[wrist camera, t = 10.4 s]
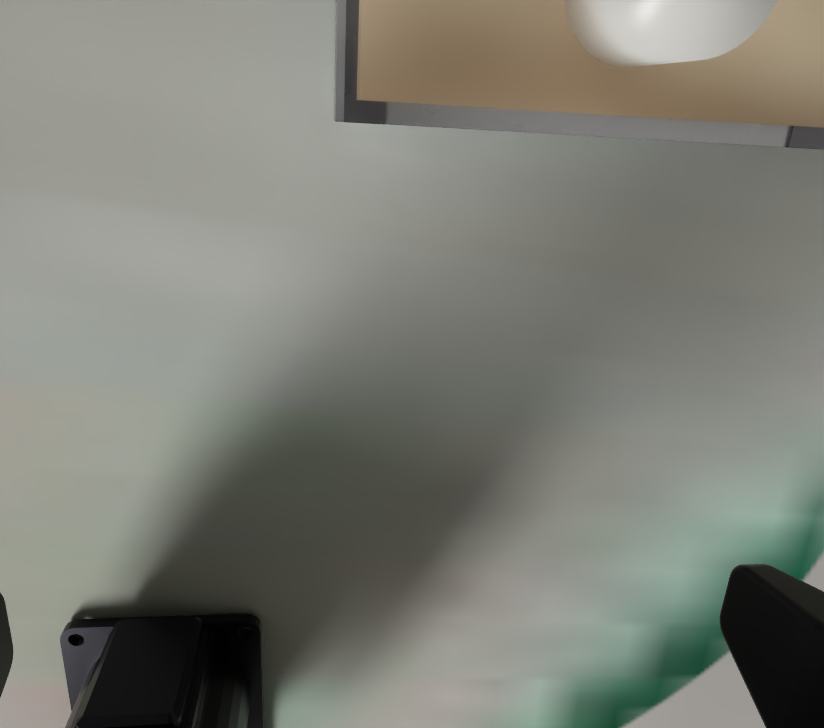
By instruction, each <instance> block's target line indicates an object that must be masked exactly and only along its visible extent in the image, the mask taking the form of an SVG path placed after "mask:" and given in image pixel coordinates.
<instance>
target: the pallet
mask: <svg viewBox="0 0 824 728" xmlns="http://www.w3.org/2000/svg"><path fill="white" fill-rule="evenodd" d="M357 100H367V101H384V102H401V103H418V104H435V105H451V106H468V107H485V108H502V109H519V110H536V111H552V112H569V113H586V114H603V115H620V116H637V117H653V118H670V119H687V120H704V121H721V122H738V123H754V124H771V125H788V126H805V127H822V128H824V0H777V2H776V4H775V6H774V8H773V10H772V11H771V13H770V14H769V16H768V17H767V19H766V20H765V21H764V23H763V24H762V25H761V26H760V27H759V28H758V30H757V31H756V32H755V33H754V34H753V35H751V36H750V37H749V38H748V39H747V40H746V41H744V42H743V43H742V44H740V45H739V46H738V47H736V48H734V49H733V50H731V51H729V52H727V53H725V54H722V55H720V56H718V57H714V58H710V59H706V60H698V61H688V62H678V63H668V64H657V65H647V66H637V67H618V66H613V65H610V64H607V63H604V62H602V61H600V60H598V59H596V58H595V57H593V56H592V55H591V54H589V53H588V52H587V51H586V50H585V49H584V48H583V47H582V45H581V44H580V43H579V41H578V40H577V39H576V37H575V35H574V33H573V32H572V30H571V27H570V25H569V22H568V19H567V15H566V11H565V4H564V0H359V31H358V71H357Z"/></svg>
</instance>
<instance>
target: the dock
mask: <svg viewBox="0 0 824 728" xmlns="http://www.w3.org/2000/svg"><path fill="white" fill-rule="evenodd" d="M358 31H359V0H336V49H335V112H334V119H335V121H337V122H353V123H370V124H390V125H407V126H425V127H442V128H460V129H477V130H495V131H512V132H530V133H547V134H565V135H582V136H600V137H617V138H635V139H652V140H670V141H687V142H705V143H722V144H740V145H757V146H775V147H790V148H808V149H824V128H822V127H805V126H788V125H771V124H754V123H738V122H721V121H704V120H687V119H670V118H653V117H637V116H620V115H603V114H586V113H569V112H552V111H536V110H519V109H502V108H485V107H468V106H451V105H435V104H418V103H401V102H384V101H367V100H357V71H358Z"/></svg>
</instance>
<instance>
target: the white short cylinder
mask: <svg viewBox="0 0 824 728" xmlns="http://www.w3.org/2000/svg"><path fill="white" fill-rule="evenodd" d="M776 2H777V0H564V4H565V11H566V15H567V19H568V22H569V25H570V27H571V30H572V32H573V33H574V35H575V37H576V39H577V40H578V41H579V43H580V44H581V45H582V47H583V48H584V49H585V50H586V51H587V52H588V53H589V54H591V55H592V56H593V57H595V58H596V59H598V60H600V61H602V62H604V63H607V64H610V65H613V66H618V67H637V66H647V65H657V64H668V63H678V62H688V61H698V60H706V59H710V58H714V57H718V56H720V55H722V54H725V53H727V52H729V51H731V50H733V49H734V48H736V47H738V46H739V45H740V44H742V43H743V42H744V41H746V40H747V39H748V38H749V37H750V36H751V35H753V34H754V33H755V32H756V31H757V30H758V28H759V27H760V26H761V25H762V24H763V23H764V21H765V20H766V19H767V17H768V16H769V14H770V13H771V11H772V10H773V8H774V6H775V4H776Z"/></svg>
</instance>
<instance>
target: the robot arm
mask: <svg viewBox="0 0 824 728" xmlns="http://www.w3.org/2000/svg"><path fill="white" fill-rule="evenodd" d="M245 627H246V628H250V629H251V630H249V631H245V630H242V629H241V628H245ZM720 627H721V631H722V634H723V637H724V639H725V641H726V643H727V645H728V648H729V650H730V652H731V654H732V656H733V658H734V660H735V662H736V665H737V667H738V669H739V671H740V673H741V675H742V677H743V680H744V682H745V684H746V686H747V688H748V690H749V692H750V695H751V697H752V699H753V701H754V703H755V705H756V707H757V709H758V712H759V714H760V716H761V718H762V720H763V722H764V724H765V726H766V728H824V592H823V591H821V590H819V589H817V588H815V587H813V586H811V585H809V584H807V583H805V582H803V581H801V580H799V579H797V578H795V577H793V576H791V575H789V574H787V573H784V572H782V571H780V570H778V569H776V568H774V567H772V566H770V565H766V564H746V565H738V566H736V567H735V568H734V569H733V570H732V572H731V574H730V578H729V582H728V586H727V589H726V593H725V597H724V601H723V605H722V609H721V613H720ZM74 634H79V635H81V636H83V637H77V636H75V635H74ZM60 642H61V648H62V655H63V661H64V667H65V673H66V679H67V685H68V692H69V698H70V704H71V710H72V712H71V715H70V717H69V720H68V722H67V725H66V727H65V728H264V697H263V660H262V624H261V621H260V619H259V618H258V617H257V616H255V615H253V614H218V615H190V616H162V617H134V618H106V619H78V620H73V621H71V622H69V623H68V624H67V625H66V627H65V628H64V630H63V632H62V634H61V638H60ZM12 659H13V644H12V638H11V633H10V627H9V621H8V616H7V610H6V605H5V600H4V598H3V596H2V594H1V593H0V697H1V694H2V691H3V688H4V686H5V683H6V680H7V677H8V674H9V672H10V668H11V664H12Z"/></svg>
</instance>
